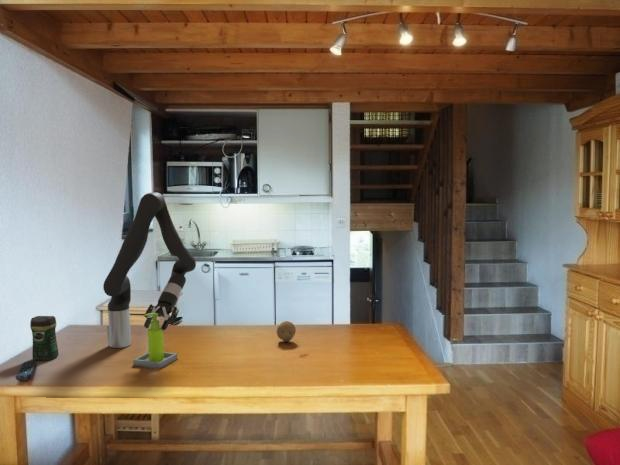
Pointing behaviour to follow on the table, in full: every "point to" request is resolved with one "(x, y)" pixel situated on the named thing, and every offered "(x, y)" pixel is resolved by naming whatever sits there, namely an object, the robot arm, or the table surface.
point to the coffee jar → (44, 338)
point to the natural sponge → (286, 331)
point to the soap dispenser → (155, 340)
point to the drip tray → (145, 362)
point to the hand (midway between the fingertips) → (154, 328)
